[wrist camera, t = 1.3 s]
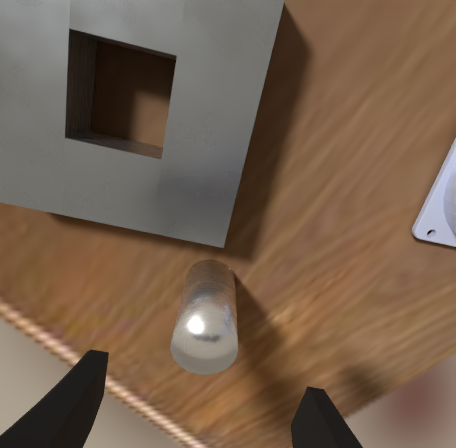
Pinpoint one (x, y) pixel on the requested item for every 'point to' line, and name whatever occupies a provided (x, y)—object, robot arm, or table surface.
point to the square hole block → (122, 148)
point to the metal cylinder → (206, 320)
